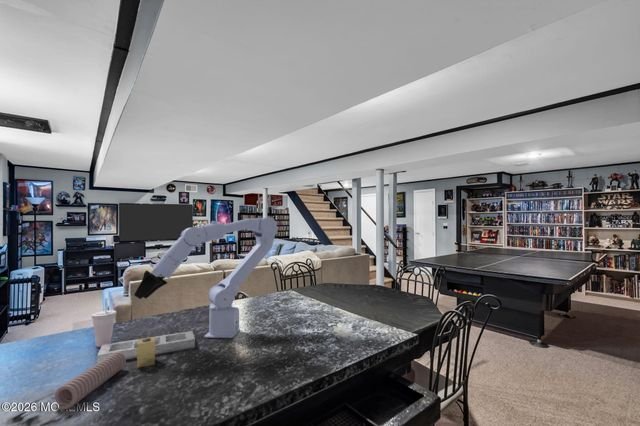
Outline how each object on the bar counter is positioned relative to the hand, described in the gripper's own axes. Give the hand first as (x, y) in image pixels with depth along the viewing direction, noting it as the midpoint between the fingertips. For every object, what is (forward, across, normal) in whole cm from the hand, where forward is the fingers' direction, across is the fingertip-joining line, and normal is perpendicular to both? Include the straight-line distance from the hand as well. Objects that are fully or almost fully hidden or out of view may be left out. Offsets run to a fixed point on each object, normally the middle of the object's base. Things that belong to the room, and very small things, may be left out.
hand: (140, 296), depth 91 cm
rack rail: (+10, -2, +12) cm, 16 cm away
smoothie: (+18, -12, -1) cm, 21 cm away
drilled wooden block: (+11, +7, +14) cm, 19 cm away
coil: (+19, +16, +8) cm, 26 cm away
